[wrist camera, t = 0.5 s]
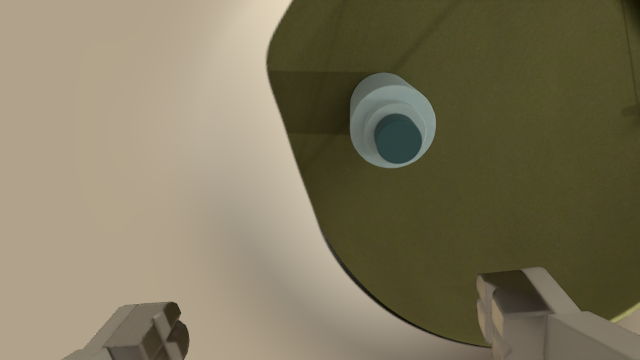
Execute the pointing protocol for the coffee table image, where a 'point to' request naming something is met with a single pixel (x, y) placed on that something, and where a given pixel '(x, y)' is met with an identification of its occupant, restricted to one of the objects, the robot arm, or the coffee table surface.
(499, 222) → the coffee table surface
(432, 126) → the bottle
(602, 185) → the coffee table surface
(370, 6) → the coffee table surface
